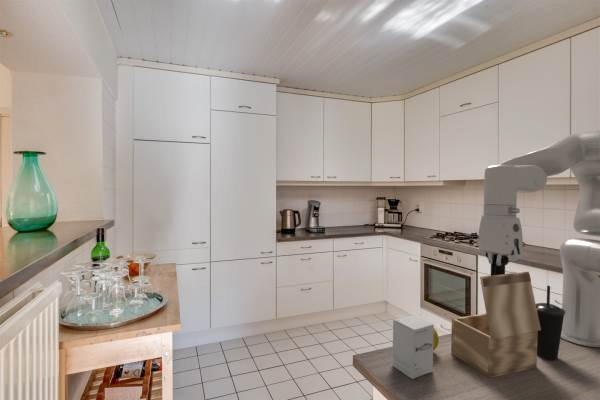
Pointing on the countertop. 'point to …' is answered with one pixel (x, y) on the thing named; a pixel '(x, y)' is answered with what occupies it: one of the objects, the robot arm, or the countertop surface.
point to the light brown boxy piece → (492, 347)
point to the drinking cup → (549, 329)
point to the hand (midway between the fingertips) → (497, 278)
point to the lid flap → (509, 304)
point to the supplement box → (413, 346)
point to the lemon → (435, 339)
